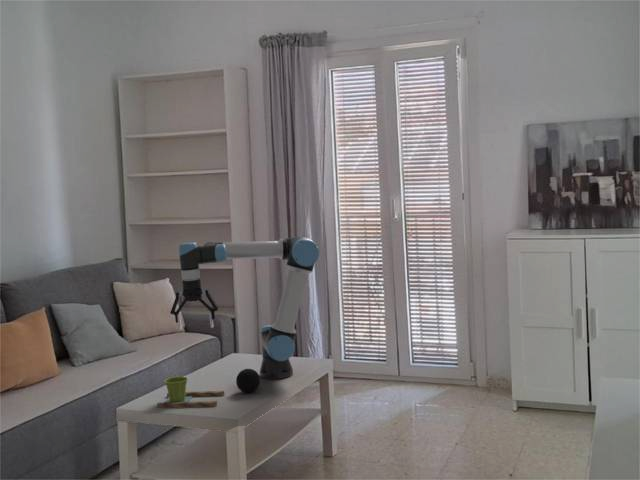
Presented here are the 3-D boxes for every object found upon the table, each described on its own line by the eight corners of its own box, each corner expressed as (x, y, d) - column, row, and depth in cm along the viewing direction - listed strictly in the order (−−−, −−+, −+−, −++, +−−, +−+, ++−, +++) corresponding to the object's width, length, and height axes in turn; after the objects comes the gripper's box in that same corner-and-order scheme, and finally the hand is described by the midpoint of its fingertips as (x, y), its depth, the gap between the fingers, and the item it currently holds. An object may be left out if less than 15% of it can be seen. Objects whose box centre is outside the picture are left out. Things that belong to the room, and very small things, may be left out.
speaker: (265, 390, 311) (264, 367, 310) (251, 397, 302) (249, 373, 301) (246, 387, 316) (245, 365, 315) (232, 394, 308) (230, 370, 307)
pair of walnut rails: (224, 394, 308) (224, 390, 308) (215, 406, 292) (215, 402, 292) (168, 395, 310) (168, 392, 310) (157, 407, 294) (156, 404, 294)
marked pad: (192, 397, 306) (192, 396, 306) (185, 404, 296) (185, 403, 296) (168, 397, 307) (168, 397, 307) (161, 405, 297) (161, 404, 297)
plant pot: (161, 401, 302) (159, 380, 301) (180, 395, 308) (179, 375, 307) (174, 405, 295) (172, 384, 294) (193, 399, 302) (192, 378, 301)
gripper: (222, 275, 313) (227, 324, 315) (164, 280, 314) (169, 329, 316) (218, 278, 305) (223, 328, 307) (159, 283, 306) (165, 332, 308)
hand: (196, 328), depth 311 cm, fingers open, 13 cm apart
